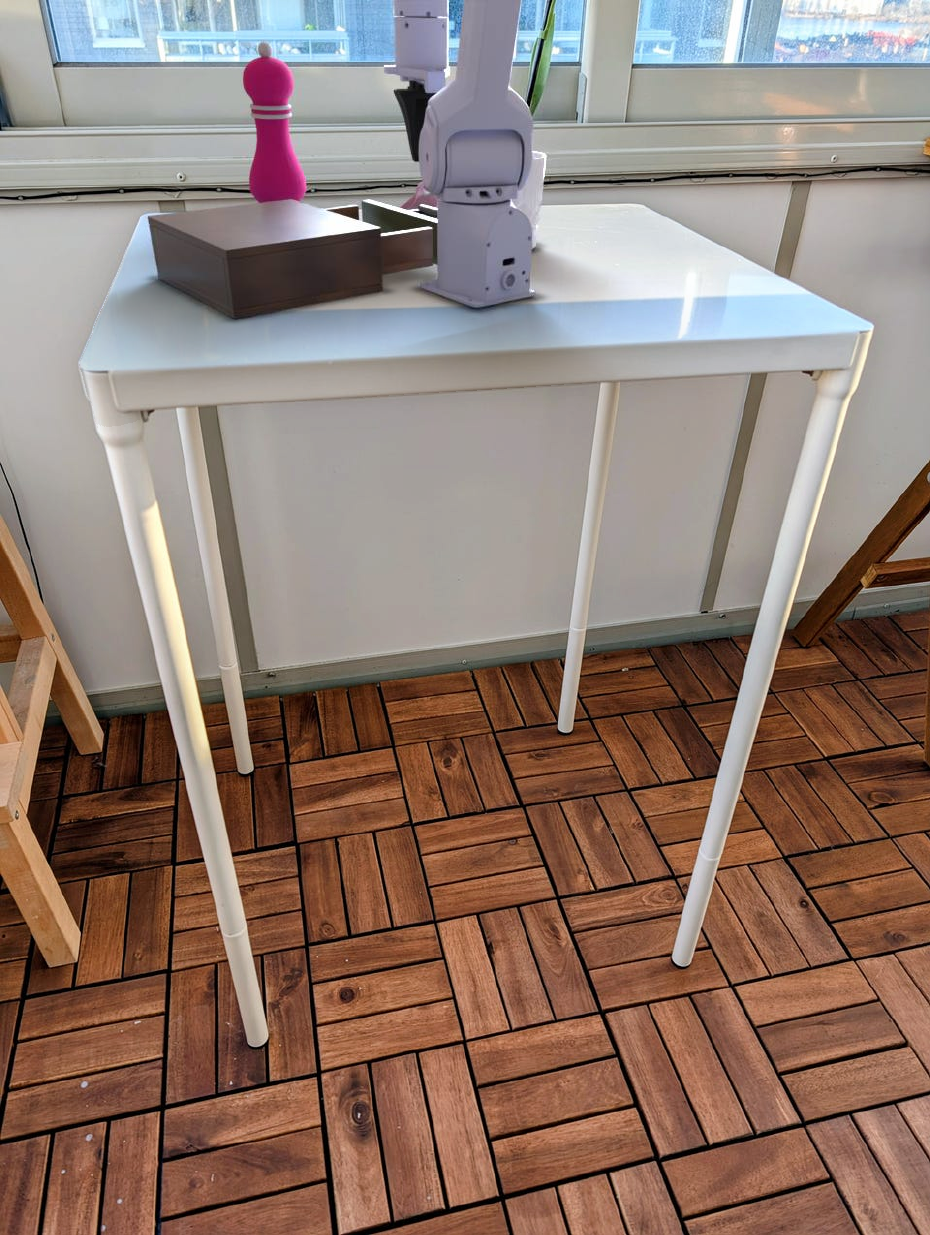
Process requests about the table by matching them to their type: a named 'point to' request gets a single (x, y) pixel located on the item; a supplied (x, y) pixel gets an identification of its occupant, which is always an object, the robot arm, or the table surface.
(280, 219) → the cabinet
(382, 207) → the drawer
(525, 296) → the robot arm
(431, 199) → the video game controller
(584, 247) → the table surface
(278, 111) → the pepper mill
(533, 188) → the white cup
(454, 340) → the table surface
